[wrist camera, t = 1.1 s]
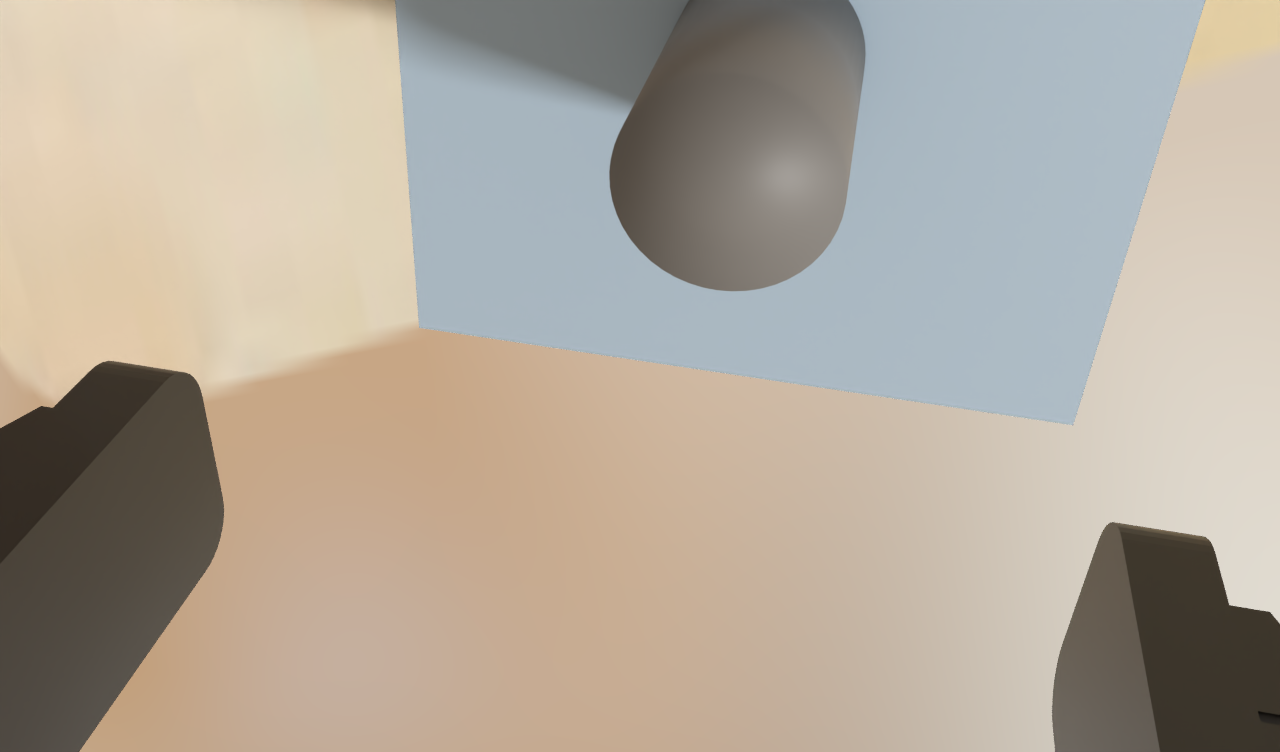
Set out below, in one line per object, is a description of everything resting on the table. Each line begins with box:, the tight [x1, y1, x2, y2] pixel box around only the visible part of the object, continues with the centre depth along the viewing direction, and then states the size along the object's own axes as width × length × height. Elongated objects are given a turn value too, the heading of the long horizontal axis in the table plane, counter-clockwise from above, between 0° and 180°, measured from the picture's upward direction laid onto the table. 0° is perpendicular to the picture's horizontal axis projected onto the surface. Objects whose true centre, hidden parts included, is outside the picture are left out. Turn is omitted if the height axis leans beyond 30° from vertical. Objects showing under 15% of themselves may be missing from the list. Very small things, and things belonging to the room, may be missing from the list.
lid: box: [395, 0, 1205, 425], centre depth 19 cm, size 13×13×7 cm
